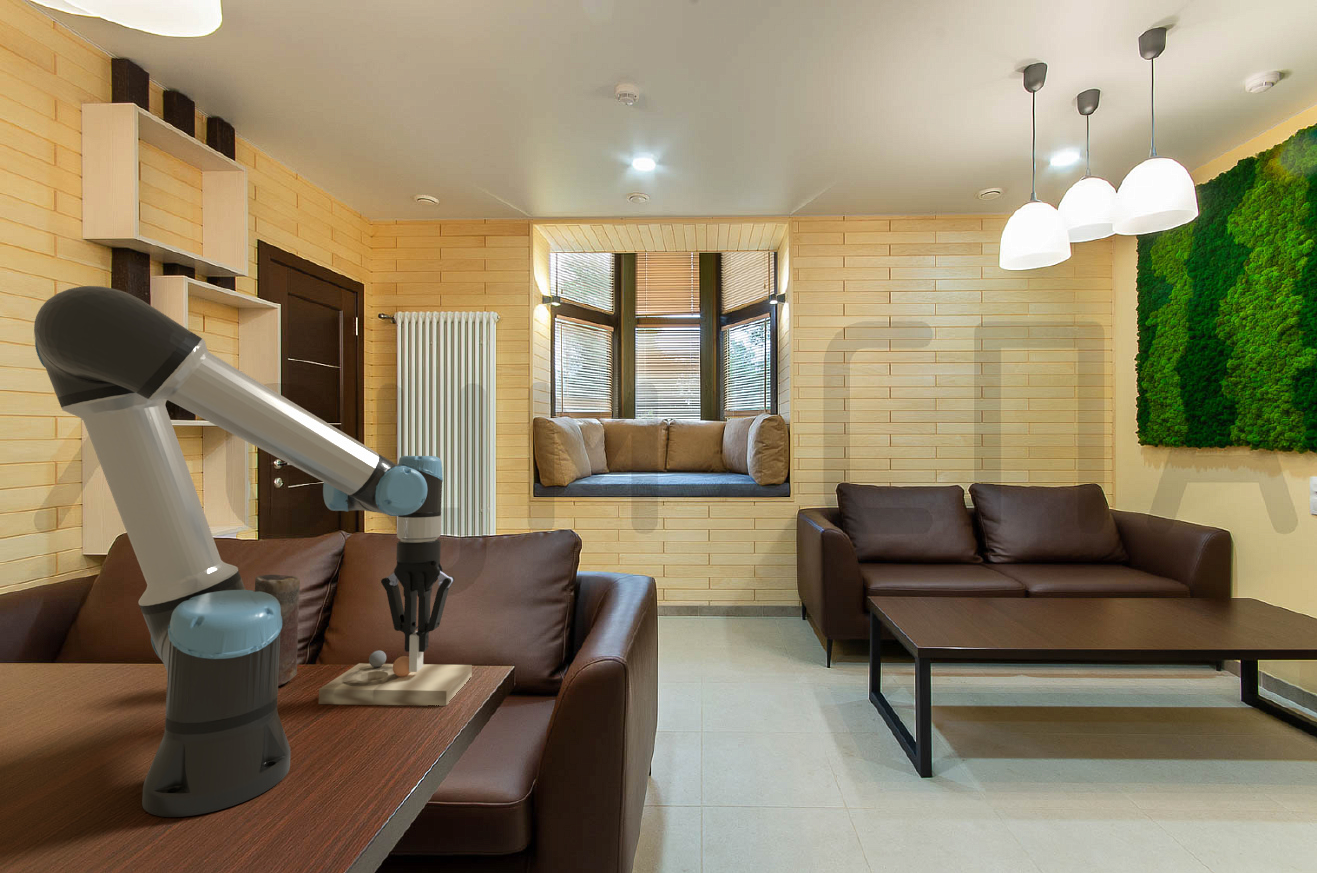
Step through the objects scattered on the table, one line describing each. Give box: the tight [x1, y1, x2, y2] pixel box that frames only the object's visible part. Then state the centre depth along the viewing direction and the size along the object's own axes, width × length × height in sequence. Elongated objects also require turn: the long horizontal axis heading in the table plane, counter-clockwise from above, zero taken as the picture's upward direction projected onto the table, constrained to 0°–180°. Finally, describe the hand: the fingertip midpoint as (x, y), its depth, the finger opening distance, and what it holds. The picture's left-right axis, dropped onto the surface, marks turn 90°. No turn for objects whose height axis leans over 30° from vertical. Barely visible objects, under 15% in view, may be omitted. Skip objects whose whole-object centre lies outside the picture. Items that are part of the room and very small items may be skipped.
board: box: [318, 662, 473, 707], centre depth 106 cm, size 22×13×2 cm, turn 89°
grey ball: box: [368, 649, 387, 667], centre depth 111 cm, size 3×3×3 cm
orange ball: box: [392, 655, 410, 677], centre depth 106 cm, size 4×4×4 cm
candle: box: [254, 574, 301, 687], centre depth 109 cm, size 8×7×20 cm
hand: (416, 669), depth 106 cm, fingers closed
